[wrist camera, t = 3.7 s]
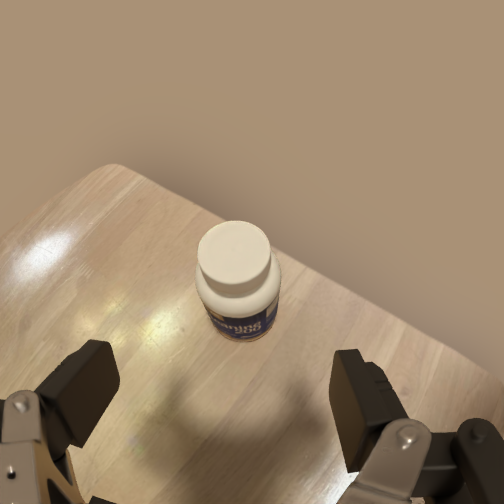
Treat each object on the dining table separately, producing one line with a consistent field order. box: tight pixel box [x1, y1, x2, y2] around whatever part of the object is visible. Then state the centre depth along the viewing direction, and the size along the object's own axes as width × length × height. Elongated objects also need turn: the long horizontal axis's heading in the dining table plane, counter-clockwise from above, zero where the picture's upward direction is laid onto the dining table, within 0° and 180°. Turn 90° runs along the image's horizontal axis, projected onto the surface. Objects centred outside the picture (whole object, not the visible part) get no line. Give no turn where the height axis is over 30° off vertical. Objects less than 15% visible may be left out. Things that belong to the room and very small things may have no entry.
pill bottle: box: [195, 221, 281, 342], centre depth 20 cm, size 5×5×10 cm
